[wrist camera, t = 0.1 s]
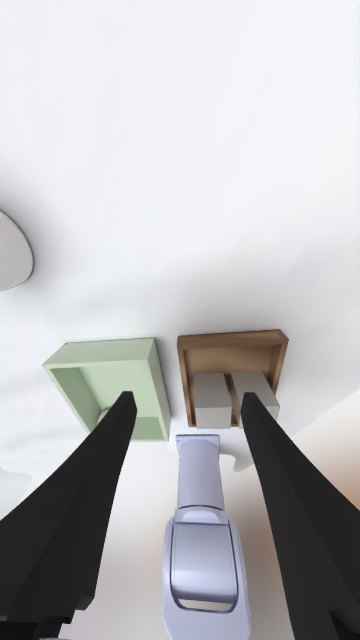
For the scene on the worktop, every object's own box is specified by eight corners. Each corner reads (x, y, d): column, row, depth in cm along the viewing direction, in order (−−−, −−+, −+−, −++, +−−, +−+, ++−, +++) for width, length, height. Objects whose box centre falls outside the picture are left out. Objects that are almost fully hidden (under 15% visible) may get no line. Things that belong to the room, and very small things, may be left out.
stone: (222, 392, 24) (230, 428, 20) (195, 393, 24) (196, 428, 20) (223, 372, 22) (231, 407, 18) (193, 373, 23) (194, 408, 18)
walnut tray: (262, 413, 27) (267, 426, 25) (188, 414, 28) (188, 427, 26) (279, 329, 19) (288, 339, 18) (177, 336, 20) (176, 345, 19)
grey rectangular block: (258, 391, 24) (274, 427, 19) (229, 392, 24) (239, 428, 20) (261, 370, 22) (280, 406, 17) (230, 372, 22) (241, 407, 18)
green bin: (171, 415, 28) (168, 441, 25) (104, 416, 29) (92, 441, 26) (154, 337, 21) (147, 359, 17) (65, 343, 22) (41, 364, 18)
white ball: (123, 415, 28) (116, 435, 25) (106, 416, 28) (98, 435, 26) (118, 404, 26) (110, 423, 24) (100, 405, 27) (91, 424, 24)
